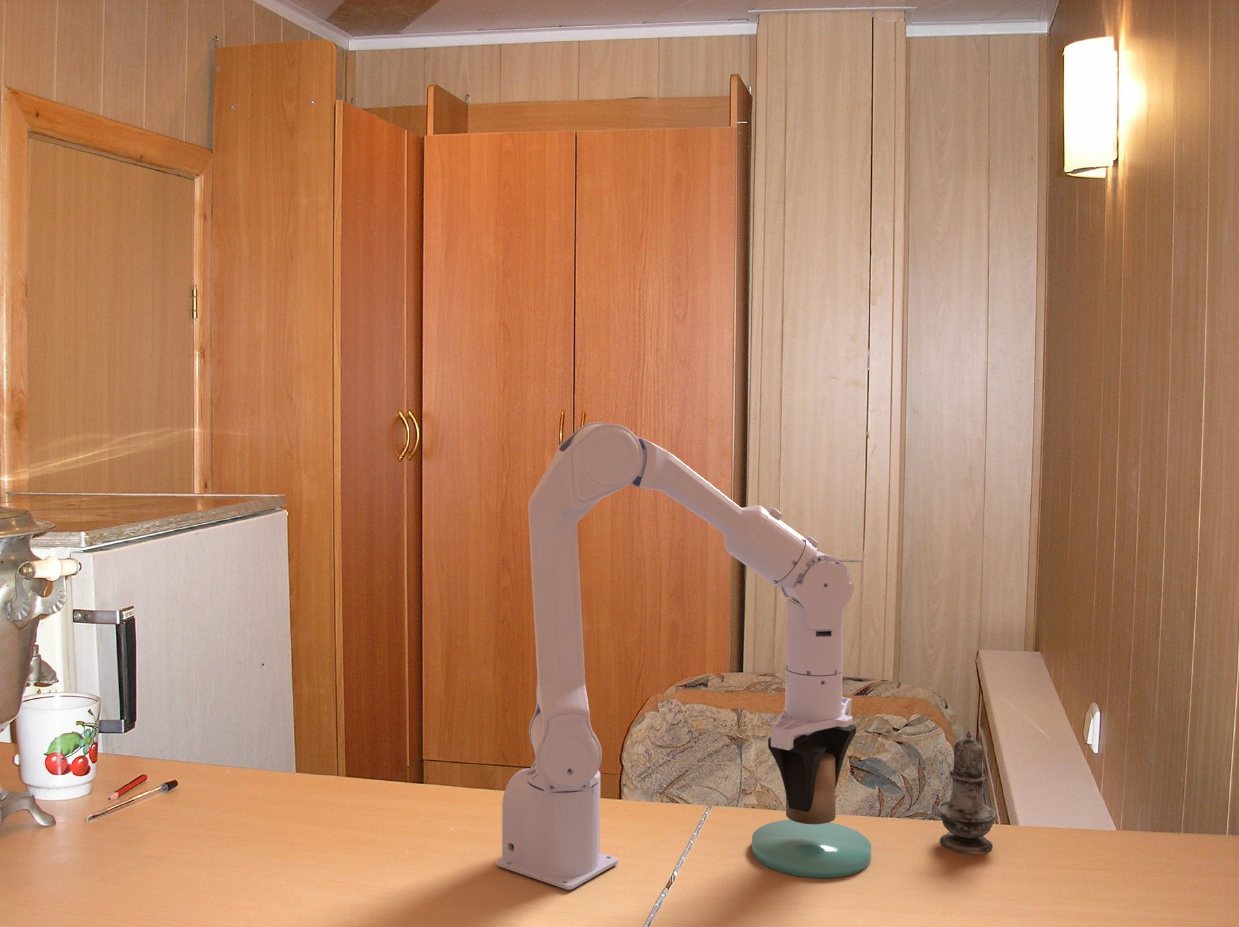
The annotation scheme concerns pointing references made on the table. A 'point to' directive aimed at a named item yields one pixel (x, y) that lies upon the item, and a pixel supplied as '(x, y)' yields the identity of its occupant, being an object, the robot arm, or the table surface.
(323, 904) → the table surface
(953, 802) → the salt shaker
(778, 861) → the teal rounded disc
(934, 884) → the table surface
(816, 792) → the walnut cylinder
